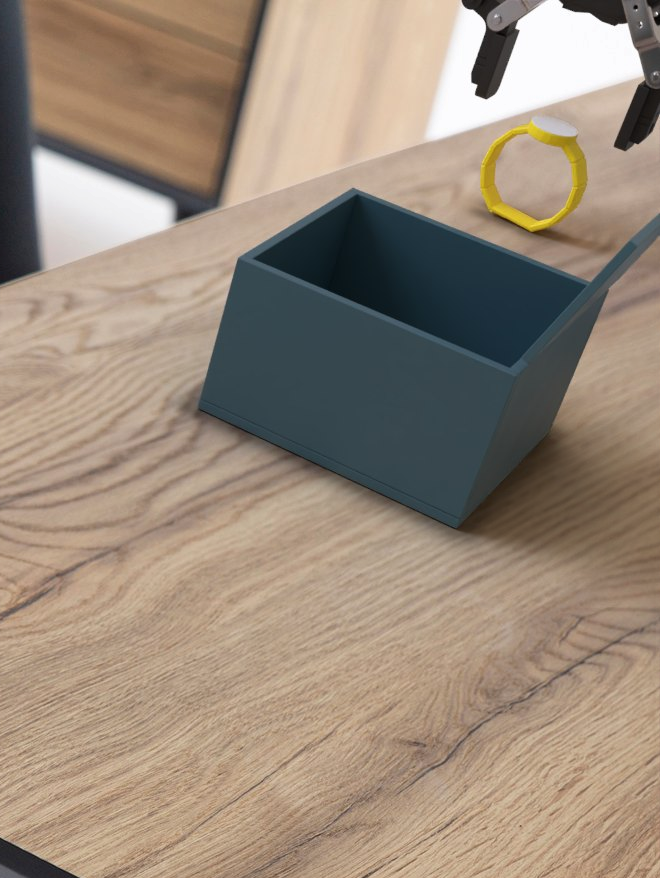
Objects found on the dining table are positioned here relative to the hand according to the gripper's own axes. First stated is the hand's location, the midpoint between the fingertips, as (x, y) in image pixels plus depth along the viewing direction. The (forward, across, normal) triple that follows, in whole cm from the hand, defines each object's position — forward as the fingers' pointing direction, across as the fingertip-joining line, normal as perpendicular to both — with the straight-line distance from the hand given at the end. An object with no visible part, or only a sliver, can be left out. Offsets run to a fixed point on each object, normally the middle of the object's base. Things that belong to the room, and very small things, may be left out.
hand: (552, 120), depth 99 cm
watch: (+6, 0, 0) cm, 6 cm away
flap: (-5, -12, +30) cm, 33 cm away
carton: (+6, -4, +30) cm, 31 cm away
